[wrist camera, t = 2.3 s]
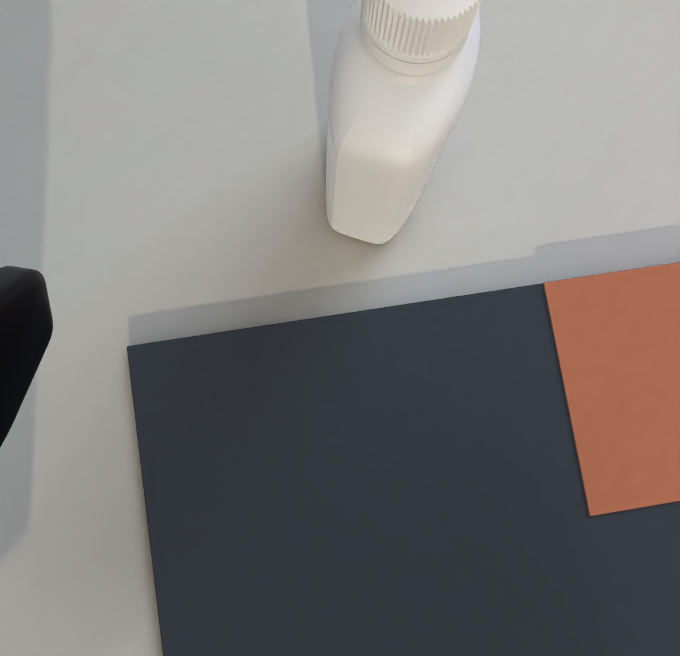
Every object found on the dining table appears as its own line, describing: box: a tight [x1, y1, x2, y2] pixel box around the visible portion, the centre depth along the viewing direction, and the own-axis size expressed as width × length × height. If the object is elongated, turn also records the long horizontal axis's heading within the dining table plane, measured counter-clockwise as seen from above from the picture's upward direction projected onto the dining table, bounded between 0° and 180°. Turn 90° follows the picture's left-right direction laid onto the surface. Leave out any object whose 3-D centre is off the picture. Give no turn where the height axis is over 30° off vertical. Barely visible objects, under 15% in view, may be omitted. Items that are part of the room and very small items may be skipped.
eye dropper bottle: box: [326, 0, 482, 244], centre depth 17 cm, size 4×6×12 cm
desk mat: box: [127, 262, 680, 656], centre depth 21 cm, size 20×23×1 cm
